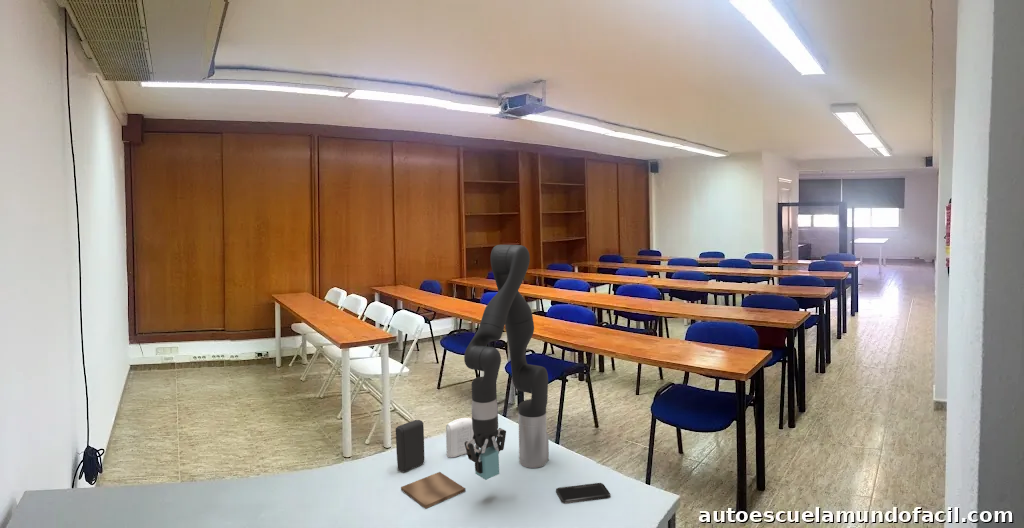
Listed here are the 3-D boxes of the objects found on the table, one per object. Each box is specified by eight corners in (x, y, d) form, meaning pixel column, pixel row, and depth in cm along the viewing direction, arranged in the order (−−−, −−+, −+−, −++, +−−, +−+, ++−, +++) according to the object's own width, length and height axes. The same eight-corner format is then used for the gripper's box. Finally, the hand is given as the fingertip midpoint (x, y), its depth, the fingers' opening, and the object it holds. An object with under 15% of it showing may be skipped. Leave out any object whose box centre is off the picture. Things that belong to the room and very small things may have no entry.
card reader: (419, 460, 185) (417, 417, 183) (426, 463, 182) (424, 420, 180) (396, 469, 178) (394, 426, 176) (403, 473, 175) (401, 429, 174)
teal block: (488, 467, 162) (487, 445, 161) (499, 473, 158) (498, 451, 157) (475, 473, 159) (474, 451, 158) (485, 480, 155) (484, 456, 154)
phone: (611, 495, 159) (562, 501, 156) (611, 499, 159) (562, 505, 156) (602, 482, 166) (554, 487, 163) (602, 485, 166) (555, 491, 163)
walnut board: (439, 474, 174) (439, 471, 174) (465, 491, 164) (465, 488, 164) (401, 490, 165) (401, 487, 165) (425, 508, 155) (425, 505, 154)
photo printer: (470, 447, 194) (469, 413, 193) (476, 451, 190) (475, 417, 189) (444, 454, 188) (443, 420, 187) (450, 459, 185) (449, 424, 183)
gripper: (495, 403, 164) (497, 456, 166) (456, 417, 154) (459, 473, 156) (512, 410, 158) (513, 465, 160) (472, 424, 149) (475, 483, 151)
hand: (487, 468), depth 158 cm, fingers closed on teal block, 5 cm apart
